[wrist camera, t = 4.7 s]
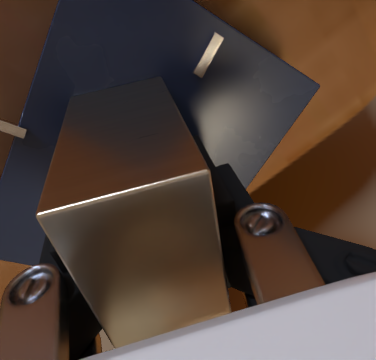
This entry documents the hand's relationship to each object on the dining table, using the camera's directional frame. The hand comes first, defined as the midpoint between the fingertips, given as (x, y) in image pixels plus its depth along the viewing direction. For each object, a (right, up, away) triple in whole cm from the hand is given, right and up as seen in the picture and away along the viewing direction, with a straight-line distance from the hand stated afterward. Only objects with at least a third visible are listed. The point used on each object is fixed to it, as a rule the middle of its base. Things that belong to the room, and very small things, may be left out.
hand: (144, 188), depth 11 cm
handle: (0, 0, +1) cm, 1 cm away
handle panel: (-1, +2, +3) cm, 4 cm away
